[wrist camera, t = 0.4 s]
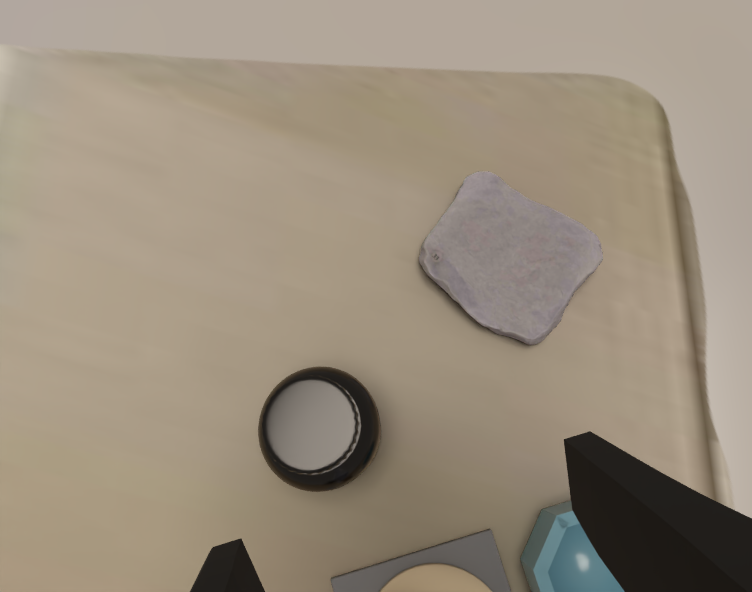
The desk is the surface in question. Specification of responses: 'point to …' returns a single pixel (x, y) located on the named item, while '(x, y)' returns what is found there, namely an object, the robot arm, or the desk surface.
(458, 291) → the stone block
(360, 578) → the mat
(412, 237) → the desk surface
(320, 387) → the supplement bottle
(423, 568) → the lid
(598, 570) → the bowl
